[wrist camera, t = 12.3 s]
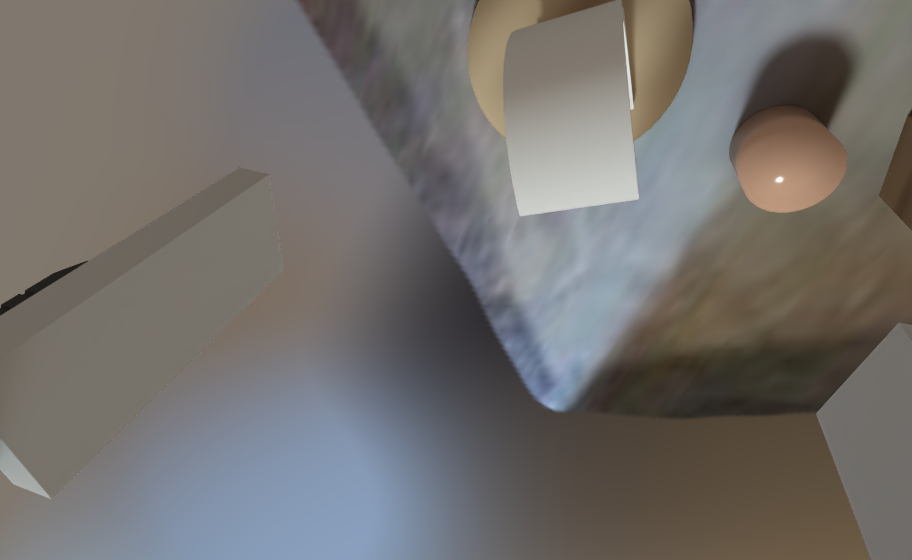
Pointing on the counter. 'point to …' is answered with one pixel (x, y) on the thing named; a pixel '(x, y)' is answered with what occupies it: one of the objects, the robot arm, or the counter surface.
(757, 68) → the counter surface
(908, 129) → the walnut cube
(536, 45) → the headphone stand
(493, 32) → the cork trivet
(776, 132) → the peach domed cylinder
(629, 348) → the counter surface
